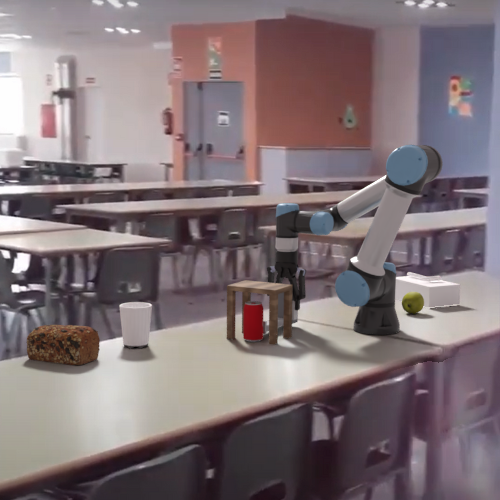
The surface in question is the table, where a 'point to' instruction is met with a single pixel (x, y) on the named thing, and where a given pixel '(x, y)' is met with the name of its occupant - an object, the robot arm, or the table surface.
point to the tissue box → (428, 289)
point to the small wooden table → (273, 292)
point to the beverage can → (253, 321)
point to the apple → (413, 302)
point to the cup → (135, 323)
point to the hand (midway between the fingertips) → (285, 318)
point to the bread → (63, 344)
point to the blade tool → (279, 313)
